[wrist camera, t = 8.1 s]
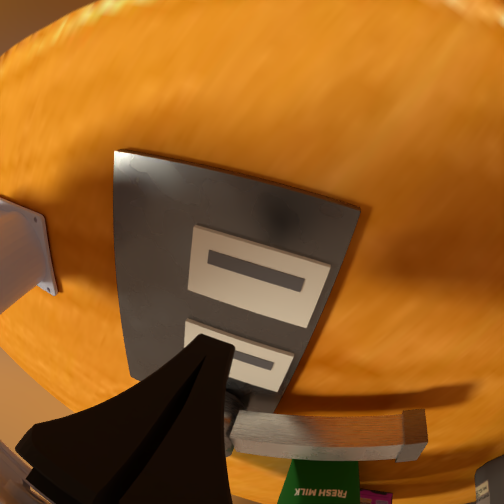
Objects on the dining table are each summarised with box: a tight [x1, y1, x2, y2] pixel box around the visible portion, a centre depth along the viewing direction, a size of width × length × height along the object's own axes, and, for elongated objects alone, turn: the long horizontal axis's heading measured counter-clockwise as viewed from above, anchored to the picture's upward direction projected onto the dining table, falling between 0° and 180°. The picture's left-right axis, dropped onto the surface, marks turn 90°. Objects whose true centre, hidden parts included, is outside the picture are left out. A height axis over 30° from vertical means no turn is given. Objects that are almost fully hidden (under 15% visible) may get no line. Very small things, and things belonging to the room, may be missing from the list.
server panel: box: [113, 149, 361, 414], centre depth 18 cm, size 13×20×1 cm, turn 169°
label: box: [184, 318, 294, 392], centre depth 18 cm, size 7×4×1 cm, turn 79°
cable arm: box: [224, 392, 428, 462], centre depth 17 cm, size 17×4×4 cm, turn 100°
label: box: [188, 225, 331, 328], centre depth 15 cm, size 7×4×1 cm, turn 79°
